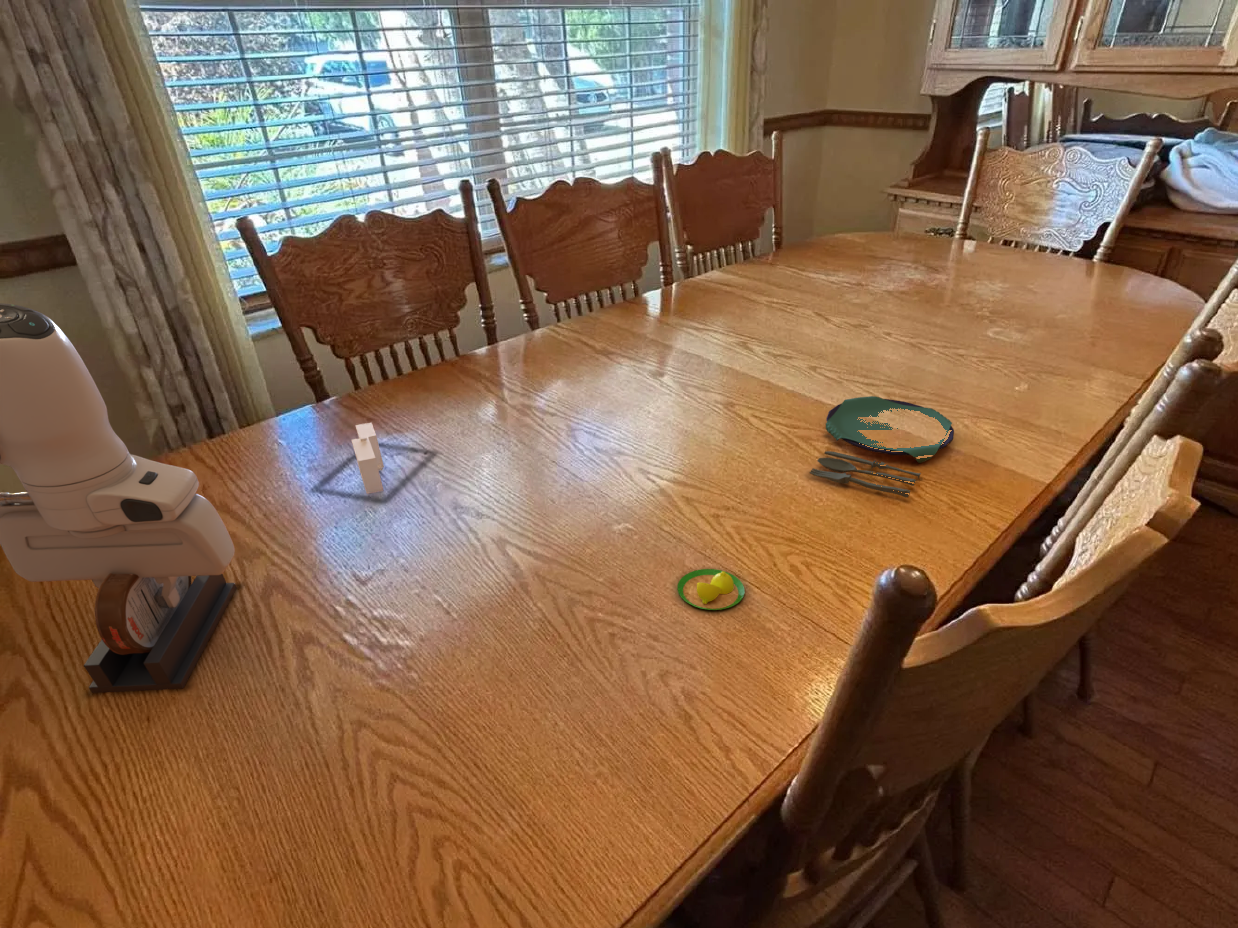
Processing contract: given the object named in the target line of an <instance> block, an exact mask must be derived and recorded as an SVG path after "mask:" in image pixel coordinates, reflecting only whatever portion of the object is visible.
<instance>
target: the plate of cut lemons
mask: <svg viewBox="0 0 1238 928" xmlns="http://www.w3.org/2000/svg"><path fill="white" fill-rule="evenodd" d="M701 576H713V577H712V578H711V581H710V583H707V582H702V581H700V582H697V583H696V593H697V596H698V598H699V599H700V600H701V601H702V604H703V605H707V604H708V603H709V602H712V601H714V600H716V599H717V598H718V596H719V595H727V594H731V593H732V592H733V591H734V589H735V587H736V589H737V598H736V599H735V600H734V601H733V602H732V603H730V604H729V605H727V606H723V607H719V608H707V607H703V606H698V605H697V604H694V603H692V602H691V601H689V600H688V599H687V597H686V596H685V593H684V587H685V585H686V584H687V583H688V582H689V581H691V580H692V579H695V578H696V577H701ZM745 591H746V590H745V587H744V584H743V582H742V581H741V580H740V579H739V578H738V577H737V576H735V575H733V574H732V573H731V572H727V571H725V570H721V569H717V568H700V569H696V570H692V571H690V572H688V573H686V574H685V575H683V576H682V577H681V578H680V579H679V581H678V583H677V593H678V595H679V596H680V598H681V599H682V600H683V601H684V602H686V603H687V604H689V605H691V606H693V607H695V608H697V609H698V608H699V609H702V610H711V611H717V610H725V609H729V608H732V607H734V606H735V605H737V604H739V603H740V602H741V601H742V600H743V598H744V596H745V593H746V592H745Z"/></svg>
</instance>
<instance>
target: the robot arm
mask: <svg viewBox="0 0 1238 928" xmlns="http://www.w3.org/2000/svg"><path fill="white" fill-rule="evenodd" d="M107 408H108V407H107V404H106V403H105V400H104V398H103V396H102V394H101V392H100V390H99V388H98V386H97V384H96V382H95V380H94V378H93V376H92V374H91V373H90V371H89V369H88V368H87V366H86V364H85V362H84V360H83V359H82V357H81V355H80V353H79V352H78V351H77V350H76V347H75V346H74V345H73V343H72V342H71V340H70V339H69V337H68V336H67V335H66V334H65V333H64V331H63V330H62V329H61V328H60V327H59V326H58V325H57V324H56V322H54V321H53V320H52V319H51V318H50V317H49V316H47V315H46V314H44V313H42V312H41V311H37V310H35V309H32V308H29V307H26V306H23V305H18V304H13V303H4V302H0V465H4V466H7V467H10V468H11V469H12V470H13V471H14V473H15V475H16V476H17V478H18V480H19V482H20V484H21V485H22V487H23V488H24V490H25V491H22V492H14V493H12V492H11V493H10V492H0V546H1V549H2V550H3V553H4V554H5V557H6V558H7V561H8V562H9V564H10V565H11V567H12V569H13V571H14V572H15V573H16V574H17V575H18V576H19V577H21V578H22V579H25V580H26V581H29V582H32V583H39V582H40V583H41V582H66V581H67V582H68V581H69V582H70V581H92V583H93V584H94V586H95V587H96V588H98V589H99V587H100V585H101V584H102V582H103V581H104V580H105V578H106V577H107V576H108V575H109V574H110V573H112V574H136V575H138V576H139V578H152V577H154V579H155V581H156V582H157V583H158V584H162V583H163V586H162V587H160V588H159V589H158V592H157V593H156V594H155V595H154V599H155V600H156V602H157V603H159V604H158V606H159V607H160V608H175V607H176V606H177V605H178V603H179V601H180V596H179V594H178V592H177V590H176V588H175V586H176V582H177V578H178V577H179V576H191V577H196V576H206V575H220V574H224V572H226V569H227V568H228V567H229V566H230V564H231V562H232V560H233V558H234V557H235V551H236V549H235V545H234V541H233V540H232V538H231V535H230V533H229V531H228V529H227V527H226V525H225V522H224V521H223V519H222V518H221V516H220V514H219V513H218V510H217V509H216V508H215V506H214V505H213V504H212V503H211V501H209V500H208V499H207V498H206V497H204V496H202V495H200V494H199V493H197V491H198V490H199V487H200V482H199V479H198V477H197V475H196V474H195V472H194V471H192V470H190V469H188V468H184V467H181V466H176V465H171V464H167V463H163V462H159V461H154V460H151V459H149V458H145V457H142V456H139V455H136V454H132V453H130V452H129V450H128V447H127V445H126V444H125V442H124V441H123V440H122V439H121V437H119V435H117V433H116V432H115V430H114V429H113V427H112V426H111V423H110V419H109V414H108V409H107Z"/></svg>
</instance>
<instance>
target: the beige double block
mask: <svg viewBox="0 0 1238 928" xmlns="http://www.w3.org/2000/svg"><path fill="white" fill-rule="evenodd" d="M354 426H355V429H356V430H355V431H356V433H357V437H358V438H352V439H351V444H352V448H353V451H354V455H355V459H356V462H357V466H358V469H359V473H360V476H361V480H362V483H363V487H364V489H365V493H366V495H370V494H373V493H380V492H384V491H385V490H384V487H383V484H382V479H381V475H380V471H383V469H384V468H385V465H384V461H383V458H382V457H383V456H382V453H381V448H380V445H379V441H378V437H377V434H376V431H375V428H374V426H373V422H366V423H365V422H364V423H359V424H355V425H354Z"/></svg>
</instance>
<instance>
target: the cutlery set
mask: <svg viewBox="0 0 1238 928" xmlns="http://www.w3.org/2000/svg"><path fill="white" fill-rule="evenodd" d="M890 408H891V409H892V408H893V409H894V408H895V409H898V408H899V409H900V408H901V409H904V410H905V409H908V410H910V411H911V410H914V411H920V412H921V413H923V414H925V415H928V416H929V417H933V418H934V417H935V419H937V420H938V421H939V422H940V423H941V425H942V426H943V428H944V429H945V430H947V431H946V432H947V433H948V431H949V430H952V431H951V432H950V434H949V437H948V439H947V440H946V441H945V442H943V441H944V439H945V438H944V439H942V440H940V442H938V443H939V444H935V445H929V446H921V447H914V448H911V447H910V448H897V449H893V448H886V447H884V446H883V447H882V446H881V445H880V446H881V447H880V446H879V445H878V446H879V447H878V446H877V444H876V443H879V442H878V441H876V440H875V441H874V440H872V441H871V439H866V438H867V437H865V436H864V435H863V434H862V433H860V432H859V431H858V430H892V429H893V428H892V427H890V426H889V425H890V424H889V425H888V423H884V424H885V425H886V424H887V425H888V426H889V427H888V426H887V425H886V426H884V424H883V423H882V424H883V425H882V424H881V423H880V424H881V425H880V424H879V422H878V421H877V422H878V424H876V423H877V422H876V421H875V422H876V423H875V422H874V421H873V422H874V423H875V424H874V423H873V422H872V423H873V424H871V423H870V422H868V423H867V422H866V423H867V424H868V425H867V424H866V423H864V422H865V421H866V420H865V421H864V420H863V419H860V418H859V419H860V420H859V419H858V417H869V416H870V415H871V416H872V417H877V416H878V414H879V413H880V412H881V411H882V412H883V410H886V411H887V410H888V411H889V409H890ZM890 411H891V412H892V410H890ZM897 411H898V410H897ZM878 412H879V413H878ZM882 412H881V413H882ZM883 413H884V412H883ZM871 416H870V417H871ZM878 417H879V416H878ZM857 419H858V420H857ZM861 420H863V421H864V422H863V421H862V422H860V421H861ZM825 421H826V423H825V430H826V432H827V433H828V434H830V436H832V437H833V438H834V439H835V441H836V442H837V441H839V439H840V440H842V441H843V442H846V443H848V444H849V445H851V446H853V447H856V448H859V449H863V450H866V451H869V452H871V451H872V452H871V453H876V454H877V453H878V454H883V455H888V456H912V457H913V458H914V457H918V456H924V455H934V456H935V455H936V453H938V451H940V450H943V449H944V447H945V448H946V447H947V446H948V445H949V444H951V442H952V441H953V440H954V436H955V435H954V434H955V429H954V428H953V426H952V425H953V422H952V421H951V420H950V419H948V418H947V417H946V416H944V415H943V414H942V413H940V411H937V410H936V409H933V408H931V407H925V406H921V405H919V404H915V403H912V402H907V401H904V400H896V399H889V398H882V397H879V396H874V395H869V396H859V397H853V398H845V399H844V400H843V401H842V403H839V404H837V405H835V406H834V407H832V409H830V410H829V411H828V414H827V416H826V419H825ZM870 424H871V425H872V426H871V425H870ZM867 427H868V428H867ZM880 427H881V428H880ZM882 427H883V428H882ZM884 427H885V428H884ZM889 428H890V429H889ZM891 428H892V429H891ZM897 429H898V428H897ZM857 431H858V432H857ZM947 433H946V435H947ZM862 435H863V436H862ZM946 435H945V436H946ZM942 442H943V443H944V444H942ZM859 443H860V444H859ZM874 443H875V444H876V445H875V444H874ZM880 443H881V442H880ZM882 443H883V442H882ZM948 443H949V444H948ZM862 444H864V445H862ZM871 444H872V445H871ZM873 444H874V445H873ZM941 444H942V445H941ZM947 444H948V445H947ZM865 445H867V446H870V447H873V448H870V447H867V446H865ZM874 448H878V449H874ZM879 449H884V450H879ZM939 449H940V450H939ZM886 450H890V451H886ZM891 451H903V452H891ZM823 454H824V455H827V456H829V457H819V458H817V462H818V463H819V464H820V465H821V466H823V468H825V469H827V470H829V471H827V470H820V469H817V468H814V467H813V468H812V469H811V470H810V471H809V474H810V475H812V476H814V477H819V478H822V479H826V480H828V481H831V482H834V483H838V484H844V485H847V484H849V483H853V484H857V485H859V486H861V487H864V488H867V489H871V490H875V491H879V492H883V493H888V494H894V495H896V496H897V495H898V496H901V497H903V498H907V499H908V498H909V497H910V495H911V490H910V489H906V488H901V487H896V486H888V485H881V484H877V483H872V482H868V481H865V480H863V479H858V478H855V477H852V474H847V473H850V472H852V473H857V474H863V475H864V474H865V475H869V476H874V477H877V478H878V477H879V478H883V479H887V480H891V481H895V482H899V483H902V484H905V485H908V486H911V487H915V484H916V482H915V481H917V479H915V478H909V477H905V476H899V475H896V474H890V473H885V472H878V471H876V472H877V473H876V474H873V472H874V471H871V470H872V469H874V468H878V469H879V470H887V469H888V470H891V471H895V472H901V473H904V474H907V475H911V476H915V477H917V478H918V479H920V477H921V475H922V472H914V471H910V470H905V469H902V468H899V467H895V466H891V465H889V464H887V465H886V466H880V465H884V464H886V463H885V462H884V461H879V462H881V463H879V462H878V461H876V459H874V460H873V461H871V460H868V459H864V458H861V457H858V456H854V455H850V454H846V453H842V452H837V451H833V450H832V451H831V450H825V451H824V453H823ZM830 456H831V457H830ZM932 458H933V457H927V458H920V459H915V461H916V462H917V463H918V464H922V463H924V462H926V461H929V460H931V459H932ZM849 461H851V462H856V463H859V464H863V465H868V466H870V467H871V468H870V469H871V470H866V469H857V467H856V466H855V465H853V464H852V463H851V462H849ZM875 462H876V463H875ZM878 463H879V464H878ZM871 472H872V473H871ZM877 474H878V475H877ZM881 475H883V476H881ZM885 476H886V477H885ZM888 477H891V478H888ZM892 478H895V479H892ZM896 479H899V480H896ZM900 480H902V481H900ZM904 481H910V482H914V483H915V484H912V483H908V482H904ZM876 484H877V485H876ZM881 486H882V487H881ZM893 490H894V491H893ZM898 491H899V492H898ZM901 492H902V493H901ZM905 493H909V495H908V494H905Z"/></svg>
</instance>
